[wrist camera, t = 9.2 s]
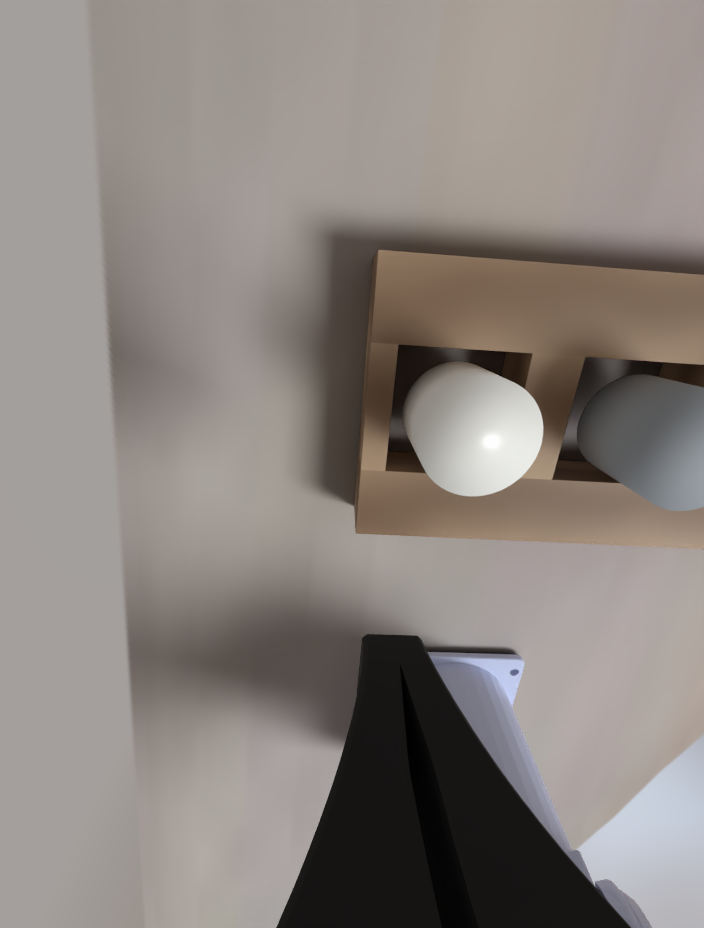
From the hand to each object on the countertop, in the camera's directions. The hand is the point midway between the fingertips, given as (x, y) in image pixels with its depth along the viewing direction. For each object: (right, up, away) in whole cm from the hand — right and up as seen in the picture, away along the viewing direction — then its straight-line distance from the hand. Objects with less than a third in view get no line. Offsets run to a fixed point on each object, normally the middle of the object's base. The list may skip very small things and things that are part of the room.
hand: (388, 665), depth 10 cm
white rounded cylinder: (+3, +7, +6) cm, 10 cm away
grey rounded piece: (+10, +6, +6) cm, 14 cm away
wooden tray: (+10, +7, +9) cm, 15 cm away
